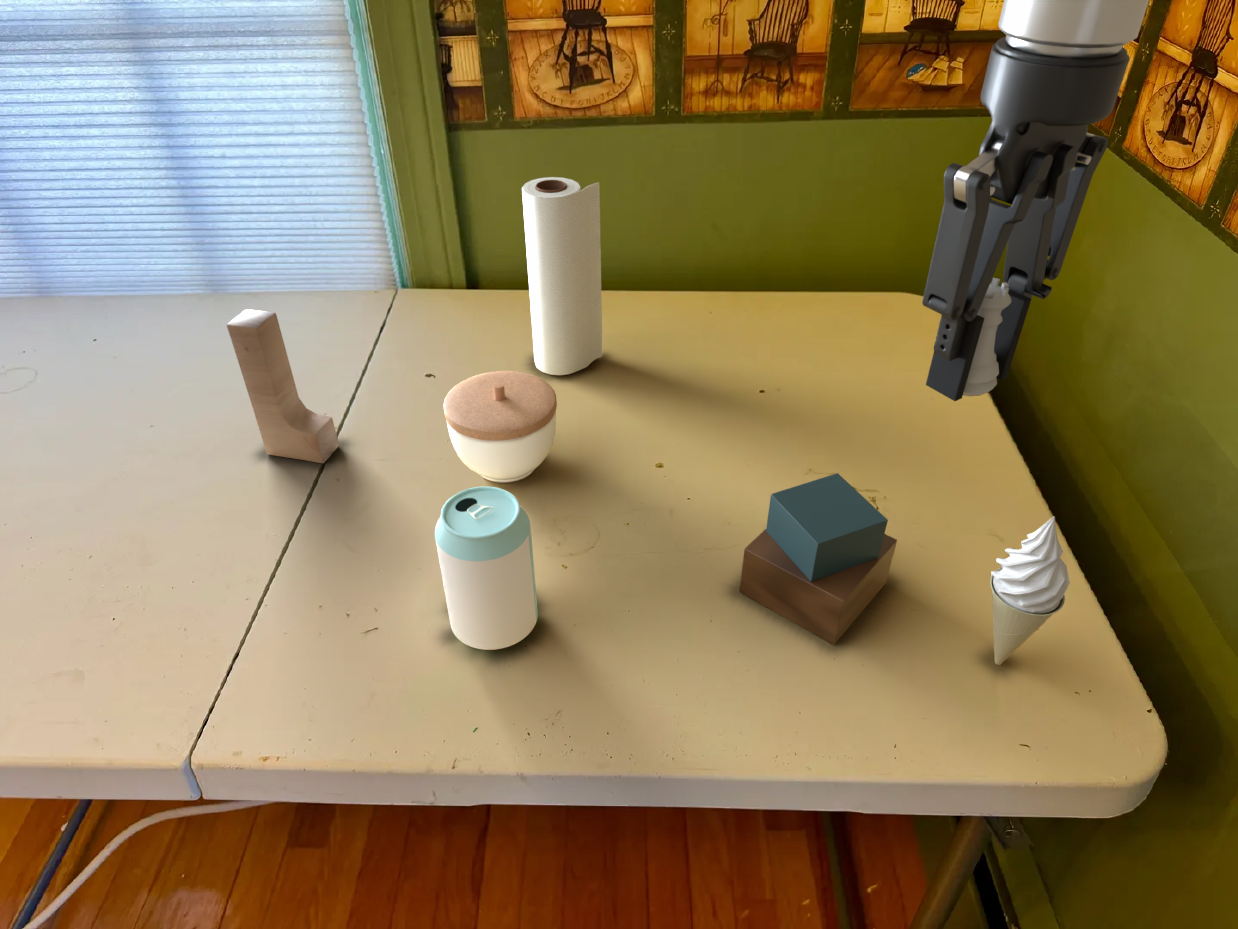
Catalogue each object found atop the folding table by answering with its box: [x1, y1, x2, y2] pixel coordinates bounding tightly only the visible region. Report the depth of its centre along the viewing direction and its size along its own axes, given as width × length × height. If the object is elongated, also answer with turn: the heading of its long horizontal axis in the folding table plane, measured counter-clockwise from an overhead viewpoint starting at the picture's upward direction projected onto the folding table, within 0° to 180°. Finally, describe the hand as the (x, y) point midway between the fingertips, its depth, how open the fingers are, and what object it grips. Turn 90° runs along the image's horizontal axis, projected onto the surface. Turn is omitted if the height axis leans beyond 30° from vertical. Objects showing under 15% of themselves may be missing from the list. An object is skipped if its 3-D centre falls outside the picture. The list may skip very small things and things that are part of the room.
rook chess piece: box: [962, 277, 1011, 397], centre depth 63 cm, size 4×4×8 cm
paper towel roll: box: [521, 176, 604, 376], centre depth 96 cm, size 7×6×21 cm
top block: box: [765, 472, 889, 582], centre depth 70 cm, size 6×6×4 cm
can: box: [434, 485, 539, 651], centre depth 67 cm, size 7×7×12 cm
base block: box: [739, 528, 898, 646], centre depth 72 cm, size 9×9×5 cm
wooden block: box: [226, 308, 340, 464], centre depth 85 cm, size 7×3×15 cm, turn 76°
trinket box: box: [442, 370, 558, 484], centre depth 85 cm, size 11×11×9 cm
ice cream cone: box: [989, 515, 1071, 666], centre depth 63 cm, size 5×5×15 cm
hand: (966, 380), depth 65 cm, fingers closed on rook chess piece, 4 cm apart
